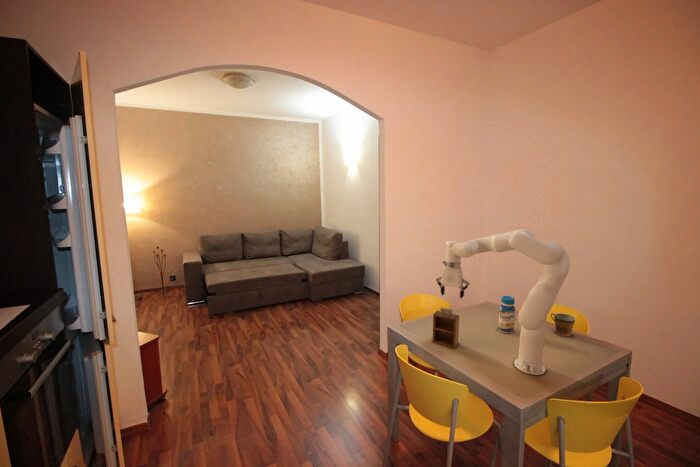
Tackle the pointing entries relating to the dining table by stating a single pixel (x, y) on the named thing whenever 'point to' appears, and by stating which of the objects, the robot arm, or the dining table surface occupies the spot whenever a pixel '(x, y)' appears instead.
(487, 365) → the dining table surface
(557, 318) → the ceramic cup
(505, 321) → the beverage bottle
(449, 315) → the brown open box
